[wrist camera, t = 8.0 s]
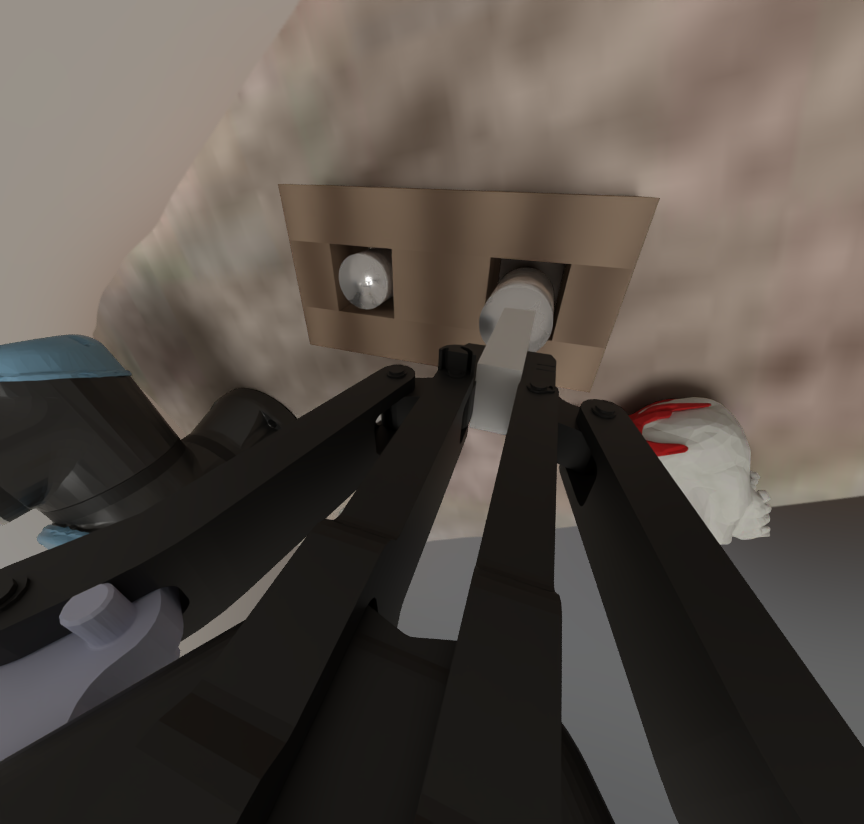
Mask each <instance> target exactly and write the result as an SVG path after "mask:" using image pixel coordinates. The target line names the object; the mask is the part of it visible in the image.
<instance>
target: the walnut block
mask: <svg viewBox="0 0 864 824" xmlns="http://www.w3.org/2000/svg"><path fill="white" fill-rule="evenodd" d="M278 186H279V191H280V196H281V201H282V206H283V211H284V216H285V221H286V226H287V231H288V236H289V241H290V246H291V251H292V256H293V261H294V266H295V271H296V276H297V281H298V286H299V291H300V296H301V301H302V306H303V311H304V316H305V321H306V325H307V330H308V335H309V340H310V344H311V345H317V346H322V347H328V348H334V349H340V350H346V351H351V352H357V353H363V354H369V355H375V356H380V357H386V358H392V359H398V360H404V361H410V362H415V363H421V364H427V365H433V366H438V359H439V349H440V348H441V347H443V346H446V345H453V344H457V345H466V344H468V343H473V344H479V345H485V346H486V344H485V342H484V341H483V339H482V337H481V334H480V330H479V318H480V314H481V311H482V309H483V307H484V305H485V304H486V302H487V301H488V299H489V297H490V296H491V294H492V293H493V291H494V290H495V288H496V287H497V285H498V279H499V271H500V264H501V258H506V259H518V260H530V261H541V262H553V263H565V264H566V265H565V269H564V273H563V277H562V281H561V285H560V289H559V293H558V297H557V301H556V305H555V310H554V314H553V327H552V331H551V334H550V337H549V339H548V340H547V342H546V343H545V344H544V345H543V347H541V348H540V349H539V350H538V351H537V353H544V354H550V355H552V356H553V357H554V358H555V360H556V387H561V388H566V389H572V390H578V391H584V392H590V391H591V388H592V385H593V382H594V379H595V377H596V374H597V371H598V368H599V366H600V363H601V360H602V357H603V354H604V352H605V349H606V346H607V343H608V341H609V338H610V335H611V332H612V330H613V327H614V324H615V321H616V318H617V316H618V313H619V310H620V307H621V305H622V302H623V299H624V296H625V294H626V291H627V288H628V285H629V282H630V280H631V277H632V274H633V271H634V269H635V266H636V263H637V260H638V257H639V255H640V252H641V249H642V246H643V244H644V241H645V238H646V235H647V233H648V230H649V227H650V224H651V221H652V219H653V216H654V213H655V210H656V208H657V205H658V202H659V199H660V198H652V197H640V196H614V195H586V194H558V193H531V192H503V191H475V190H447V189H419V188H391V187H363V186H335V185H293V184H278ZM368 247H376V248H388V249H392V270H393V295H394V296H393V297H391V298H389V299H388V300H386V301H385V302H383V303H382V304H380V305H379V306H377V307H375V308H373V309H361V308H359V307H356V306H355V305H353V304H352V303H351V302H350V301H349V300H348V299H347V298H346V297H345V295H344V294H343V292H342V290H341V287H340V283H339V269H340V266H341V264H342V262H343V261H344V260H345V259H346V258H347V257H348V256H350V255H353V254H356V253H360V252H363V251H366V250H368Z"/></svg>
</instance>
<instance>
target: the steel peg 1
mask: <svg viewBox="0 0 864 824" xmlns="http://www.w3.org/2000/svg"><path fill="white" fill-rule="evenodd" d="M339 283H340V287H341V290H342V292H343V294H344V295H345V297H346V298H347V299H348V300H349V301H350V302H351V303H352V304H353V305H355V306H356V307H359V308H361V309H373V308H375V307H377V306H379V305H380V304H382V303H383V302H385V301H386V300H388V299H389V298H391V297H393V296H394V295H393V270H392V249H388V248H376V247H375V248H372V249H369V250H366V251H363V252H360V253H356V254H353V255H350V256H348V257H347V258H346V259H345V260H344V261H343V262H342V264H341V266H340V269H339Z"/></svg>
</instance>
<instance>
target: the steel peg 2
mask: <svg viewBox="0 0 864 824" xmlns="http://www.w3.org/2000/svg"><path fill="white" fill-rule="evenodd" d="M505 307H506V308H514V309H522V310H530V311H536V313H535V317H534V322H533V327H532V331H531V336H530V341H529V346H528V350H527V351H530V352H537V351H538V350H539V349H540V348H541V347H543V345H544V344H545V343H546V342H547V340H548V339H549V337H550V334H551V331H552V327H553V310H554V289H553V286H552V283H551V281H550V280H549V278H548V277H547V276H546V275H545V274H544V273H543V272H541V271H539V270H537V269H534V268H527V267H524V268H518V269H515V270H513V271H511V272H509V273H508V274H506V275H505V276H504V277H503V278H502V279H501V281H500V282H499V284H498V285H497V287H496V288H495V290H494V291H493V293H492V294H491V296H490V297H489V299H488V301H487V302H486V304H485V305H484V307H483V309H482V311H481V314H480V318H479V330H480V334H481V337H482V339H483V341H484V342H485V344H486V345H487V343H488V341H489V339H490V337H491V334H492V332H493V330H494V328H495V326H496V324H497V322H498V320H499V318H500V316H501V314H502V312H503V310H504V308H505Z"/></svg>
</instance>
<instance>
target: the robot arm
mask: <svg viewBox="0 0 864 824" xmlns="http://www.w3.org/2000/svg"><path fill="white" fill-rule="evenodd" d="M535 313H536V311H530V310H522V309H514V308H506V307H505V308H504V310H503V312H502V314H501V316H500V318H499V320H498V322H497V324H496V326H495V328H494V330H493V332H492V334H491V337H490V339H489V341H488V343H487V345H486V346H485V345H479V344H473V343H468V344H466V345H457V344H453V345H446V346H443V347H441V348H440V349H439V359H438V371H437V373H436V374H435V376H434V377H432V378H415V371H414V370H413V369H412V368H410V367H408V366H404V365H399V364H396V365H391V366H387V367H384V368H382V369H380V370H379V371H377V372H375V373H374V374H372V375H370V376H369V377H367V378H365V379H364V380H362V381H360V382H359V383H357V384H355V385H354V386H352V387H350V388H349V389H347V390H345V391H344V392H342V393H340V394H339V395H337V396H335V397H334V398H332V399H330V400H328V401H327V402H325V403H323V404H322V405H320V406H318V407H317V408H315V409H313V410H312V411H310V412H308V413H307V414H305V415H303V416H302V417H300V418H298V419H297V420H296V418H295V417H294V416H293V415H292V414H291V413H290V412H289V411H288V410H287V409H286V408H285V407H284V406H282V405H281V404H280V403H279V402H277V401H276V400H274V399H273V398H271V397H269V396H267V395H266V394H263V393H261V392H259V391H256V390H252V389H245V388H240V389H235V390H232V391H230V392H229V393H227V394H226V395H224V396H222V397H221V398H219V399H218V400H217V401H216V402H215V403H214V404H213V406H212V408H211V410H210V411H209V412H208V413H207V414H206V415H205V417H204V418H203V419H202V420H201V421H200V423H199V424H198V425H197V426H196V428H195V429H194V430H193V431H192V432H191V433H190V434H189V435H187V436H186V437H184V438H183V439H181V440H180V438H179V437H178V436H177V434H176V433H175V432H174V431H173V430H172V428H171V427H170V426H169V425H168V423H167V422H166V421H165V420H164V418H163V417H162V416H161V414H160V413H159V412H158V411H157V409H156V408H155V407H154V405H152V403H151V402H150V400H149V399H148V398H147V397H146V395H145V394H144V393H143V392H142V390H141V389H140V388H139V386H138V385H137V384H136V383H135V381H134V380H133V379H132V378H131V375H132V374H131V372H130V371H127V370H125V369H124V368H123V367H122V366H121V364H120V363H119V362H118V361H117V360H116V359H115V358H114V356H113V355H112V354H111V353H110V352H109V351H108V350H107V348H106V347H105V346H104V345H103V344H102V343H100V342H99V341H97V340H95V339H93V338H90V337H87V336H83V335H61V336H53V337H46V338H40V339H33V340H28V341H21V342H15V343H9V344H4V345H0V525H5V524H7V523H8V522H11V521H12V520H14V519H16V518H18V517H19V516H21V515H23V514H24V513H26V512H28V511H30V510H32V509H34V508H36V509H38V510H39V511H41V512H42V513H43V514H44V515H46V516H47V517H48V518H49V519H50V520H52V522H53V523H52V525H47V526H46V527H44V528H43V531H42V532H41V533H40V534H39V535H38V537H37V541H38V542H39V543H40V544H41V545H44V547H46V548H47V549H48V550H46V551H44V552H41V553H39V554H37V555H34V556H31V557H29V558H26V559H24V560H22V561H19V562H16V563H14V564H11V565H9V566H7V567H4V568H2V569H0V824H615V822H614V820H613V818H612V816H611V814H610V812H609V810H608V808H607V806H606V804H605V801H604V800H603V797H602V795H601V793H600V791H599V789H598V787H597V785H596V783H595V781H594V779H593V776H592V774H591V772H590V770H589V768H588V766H587V764H586V762H585V760H584V758H583V756H582V754H581V752H580V751H579V749H578V747H577V746H576V744H575V742H574V740H573V739H572V737H571V736H570V734H569V732H568V731H567V729H566V728H565V726H564V725H563V724H562V722H561V697H562V693H561V692H562V689H561V688H562V685H561V683H562V609H561V600H560V596H559V595H558V594H557V593H556V592H555V590H554V555H555V553H554V552H555V517H556V479H557V463H558V464H560V466H559V471H560V475H561V478H562V481H563V484H564V487H565V490H566V493H567V496H568V499H569V502H570V505H571V508H572V511H573V514H574V517H575V520H576V523H577V526H578V529H579V532H580V535H581V538H582V541H583V544H584V547H585V550H586V554H587V557H588V560H589V563H590V566H591V569H592V572H593V575H594V578H595V581H596V583H597V587H598V590H599V593H600V596H601V599H602V602H603V605H604V608H605V611H606V614H607V617H608V621H609V624H610V627H611V630H612V633H613V636H614V639H615V642H616V645H617V648H618V651H619V654H620V657H621V660H622V663H623V666H624V669H625V672H626V675H627V678H628V681H629V684H630V687H631V690H632V693H633V697H634V700H635V703H636V706H637V709H638V711H639V715H640V718H641V721H642V724H643V727H644V730H645V733H646V736H647V739H648V742H649V745H650V748H651V751H652V754H653V757H654V760H655V763H656V766H657V769H658V772H659V774H660V777H661V780H662V782H663V785H664V788H665V790H666V793H667V796H668V799H669V801H670V804H671V807H672V809H673V812H674V814H675V816H676V819H677V821H678V823H679V824H864V747H863V746H862V744H861V743H860V742H859V740H858V739H857V737H856V736H855V735H854V733H853V732H852V730H851V729H850V728H849V726H848V725H847V724H846V722H845V721H844V719H843V718H842V716H841V715H840V713H839V712H838V711H837V709H836V708H835V706H834V705H833V704H832V702H831V701H830V699H829V698H828V696H827V695H826V694H825V692H824V691H823V689H822V688H821V687H820V685H819V684H818V683H817V681H816V680H815V678H814V677H813V675H812V674H811V673H810V671H809V670H808V668H807V667H806V665H805V664H804V663H803V661H802V660H801V658H800V657H799V656H798V654H797V653H796V651H795V650H794V648H793V647H792V646H791V644H790V643H789V642H788V640H787V639H786V637H785V636H784V634H783V633H782V632H781V630H780V629H779V628H778V626H777V624H776V623H775V622H774V620H773V619H772V617H771V616H770V615H769V613H768V612H767V610H766V609H765V608H764V606H763V605H762V603H761V602H760V600H759V599H758V598H757V596H756V595H755V593H754V592H753V591H752V589H751V588H750V586H749V585H748V584H747V582H746V581H745V580H744V578H743V577H742V575H741V574H740V572H739V571H738V569H737V568H736V567H735V565H734V564H733V562H732V561H731V560H730V558H729V557H728V555H727V554H726V553H725V551H724V550H723V548H722V547H721V545H720V544H719V543H718V541H717V540H716V538H715V537H714V536H713V534H712V533H711V531H710V530H709V529H708V527H707V526H706V524H705V523H704V521H703V520H702V519H701V517H700V516H699V514H698V513H697V512H696V510H695V509H694V507H693V506H692V505H691V503H690V502H689V500H688V499H687V497H686V496H685V495H684V493H683V492H682V490H681V489H680V488H679V486H678V485H677V483H676V482H675V481H674V479H673V478H672V476H671V475H670V473H669V472H668V471H667V469H666V468H665V466H664V465H663V464H662V462H661V461H660V459H659V458H658V457H657V455H656V454H655V452H654V451H653V449H652V448H651V447H650V445H649V444H648V442H647V441H646V440H645V438H644V437H643V435H642V434H641V433H640V431H639V430H638V428H637V427H636V425H635V424H634V423H633V421H632V420H631V418H630V417H629V416H628V414H627V413H626V412H625V411H624V410H623V409H622V408H621V407H619V406H617V405H615V404H614V403H612V402H608V401H606V400H598V399H592V400H587V401H584V402H583V403H582V404H581V406H580V407H578V406H575V405H572V404H570V403H568V402H566V401H564V400H562V399H561V398H560V397H559V391H558V388H557V387H556V360H555V358H554V357H553V356H552V355H550V354H544V353H537V352H530V351H527V350H528V346H529V341H530V336H531V331H532V327H533V322H534V317H535ZM380 415H381V420H380V421H379V422H377V423H376V420H377V418H378V417H379V416H380ZM470 419H471V421H470ZM469 422H470V427H471V428H475V429H480V430H484V431H489V432H494V433H498V434H503V435H506V439H505V443H504V447H503V451H502V456H501V460H500V464H499V468H498V473H497V477H496V481H495V486H494V490H493V494H492V498H491V503H490V507H489V511H488V515H487V520H486V524H485V528H484V532H483V537H482V541H481V545H480V550H479V554H478V558H477V562H476V566H475V569H474V572H473V576H472V580H471V584H470V589H469V593H468V597H467V601H466V606H465V610H464V614H463V618H462V622H461V627H460V631H459V635H458V640H457V641H453V640H441V639H428V638H416V637H410V636H407V635H406V634H404V633H403V632H401V631H400V630H399V629H398V628H397V625H398V621H399V616H400V611H401V608H402V604H403V601H404V598H405V596H406V593H407V591H408V588H409V585H410V583H411V580H412V577H413V575H414V572H415V570H416V567H417V564H418V562H419V559H420V557H421V554H422V551H423V549H424V546H425V543H426V541H427V538H428V536H429V533H430V531H431V528H432V525H433V523H434V520H435V518H436V515H437V512H438V510H439V507H440V505H441V502H442V499H443V497H444V494H445V492H446V489H447V486H448V484H449V481H450V478H451V476H452V473H453V471H454V468H455V465H456V463H457V460H458V458H459V455H460V452H461V450H462V447H463V445H464V442H465V439H466V437H467V432H468V424H469ZM355 491H356V492H355ZM354 492H355V493H354ZM352 493H354V495H353V496H352V498H351V499H350V501H349V502H348V504H347V505H346V506H345V508H344V509H343V511H342V512H341V514H340V515H339V516H338V517H337V518H336V519H334V520H329V519H326V518H327V517H328V516H329V515H330V514H331V513H332V512H333V511H334V510H335V509H336V508H337V507H338V506H340V505H341V504H342V503H343V502H344V501H345V500H346V499H347V498H348V497H349V496H350V495H351V494H352ZM306 536H307V537H306ZM305 537H306V538H305ZM304 538H305V539H304ZM303 539H304V541H303V542H302V543H301V545H300V546H299V548H298V549H297V550H296V552H295V553H294V554H293V556H292V557H291V559H290V560H289V561H288V563H287V564H286V565H285V567H284V568H283V569H282V571H281V572H280V574H279V575H278V576H277V578H276V579H275V580H274V582H273V583H272V584H271V586H270V587H269V588H268V590H267V591H266V593H265V594H264V595H263V597H262V598H261V599H260V601H259V602H258V603H257V605H256V606H255V608H254V609H253V610H252V612H251V613H250V615H249V616H248V617H247V619H246V620H244V621H242V622H241V623H239V624H237V625H236V626H234V627H232V628H230V629H229V630H227V631H225V632H223V633H222V634H220V635H218V636H216V637H215V638H213V639H211V640H210V641H208V642H206V643H204V644H203V645H201V646H199V647H198V648H196V649H194V650H192V651H190V652H189V653H187V654H185V655H184V656H182V657H180V658H179V656H180V649H179V648H178V646H179V644H180V642H181V641H182V640H184V639H186V638H187V637H189V636H190V635H192V634H193V633H195V632H196V631H198V630H199V629H201V628H202V627H204V626H205V625H206V624H208V623H209V622H210V621H212V620H213V619H214V618H216V617H217V616H218V615H220V614H221V613H222V612H224V611H225V610H226V609H227V608H228V607H229V606H231V605H232V604H233V603H234V602H235V601H237V600H238V599H239V598H240V597H241V596H242V595H244V594H245V593H246V592H247V591H248V590H249V589H250V588H251V587H252V586H254V585H255V584H256V583H257V582H258V581H259V580H260V579H261V578H262V577H263V576H264V575H265V574H266V573H267V572H269V571H270V570H271V569H272V568H273V567H274V566H275V565H276V564H277V563H278V562H279V561H280V560H282V559H283V558H284V557H285V556H286V555H287V554H288V553H289V552H290V551H291V550H292V549H293V548H294V547H295V546H297V545H298V544H299V543H300V542H301V541H302V540H303Z"/></svg>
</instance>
